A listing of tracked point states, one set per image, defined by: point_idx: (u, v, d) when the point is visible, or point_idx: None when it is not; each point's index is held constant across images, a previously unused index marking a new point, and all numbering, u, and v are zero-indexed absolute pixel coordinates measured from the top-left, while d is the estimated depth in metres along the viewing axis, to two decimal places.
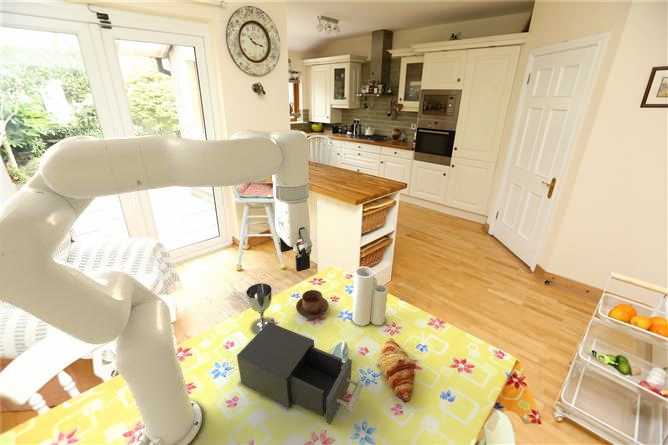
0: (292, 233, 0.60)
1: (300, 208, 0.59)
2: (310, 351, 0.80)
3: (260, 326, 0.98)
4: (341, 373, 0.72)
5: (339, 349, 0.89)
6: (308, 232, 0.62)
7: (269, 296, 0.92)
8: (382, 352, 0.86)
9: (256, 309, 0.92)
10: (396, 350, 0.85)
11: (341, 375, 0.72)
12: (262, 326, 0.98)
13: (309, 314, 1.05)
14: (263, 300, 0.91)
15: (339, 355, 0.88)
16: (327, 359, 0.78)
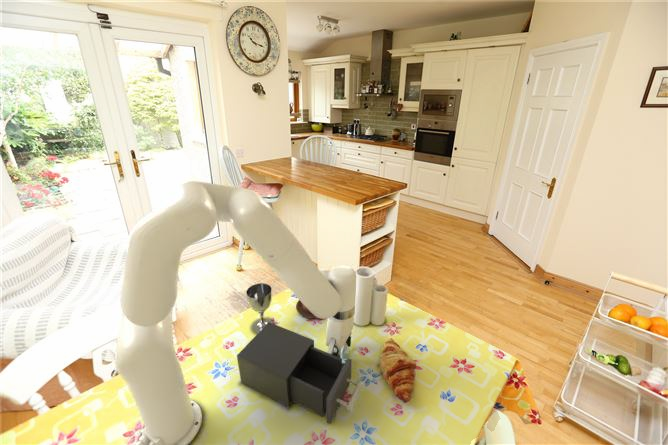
0: (326, 338, 0.80)
1: (334, 325, 0.78)
2: (310, 351, 0.80)
3: (260, 326, 0.98)
4: (341, 373, 0.72)
5: None
6: (338, 344, 0.79)
7: (269, 296, 0.92)
8: (382, 352, 0.86)
9: (256, 309, 0.92)
10: (396, 350, 0.85)
11: (341, 375, 0.72)
12: (262, 326, 0.98)
13: (309, 314, 1.05)
14: (263, 300, 0.91)
15: None
16: (327, 359, 0.78)
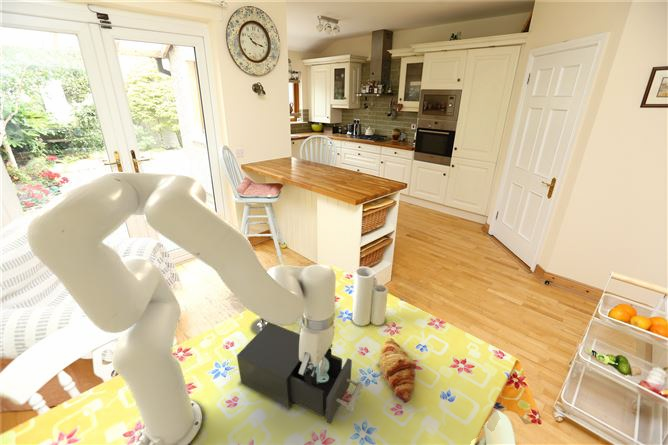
0: (299, 352, 0.66)
1: (308, 337, 0.64)
2: None
3: (260, 326, 0.98)
4: (341, 373, 0.72)
5: None
6: (313, 359, 0.65)
7: None
8: (382, 352, 0.86)
9: None
10: (396, 350, 0.85)
11: (341, 375, 0.72)
12: (262, 326, 0.98)
13: None
14: None
15: (317, 372, 0.73)
16: None
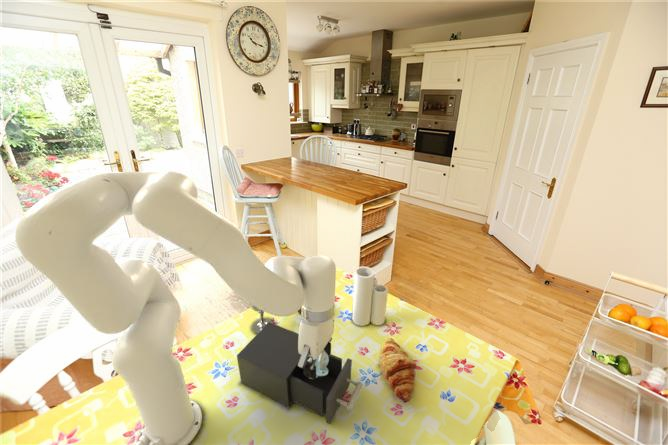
0: (299, 344, 0.65)
1: (307, 329, 0.63)
2: None
3: (260, 326, 0.98)
4: (341, 373, 0.72)
5: (317, 358, 0.74)
6: (313, 352, 0.64)
7: None
8: (382, 352, 0.86)
9: (256, 309, 0.92)
10: (396, 350, 0.85)
11: (341, 375, 0.72)
12: (262, 326, 0.98)
13: None
14: None
15: (316, 366, 0.73)
16: None
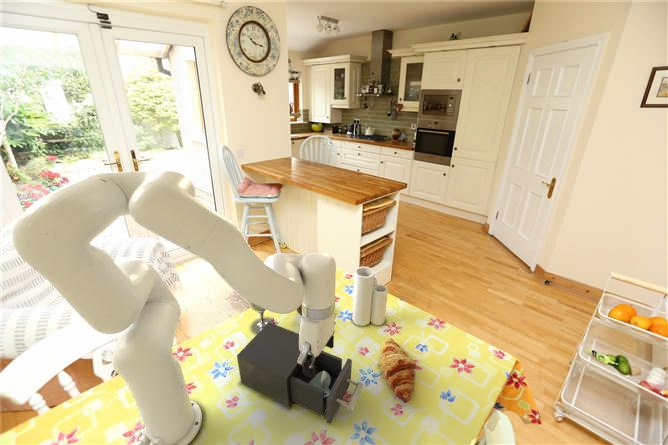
0: (299, 342, 0.65)
1: (308, 327, 0.62)
2: None
3: (260, 326, 0.98)
4: (341, 373, 0.72)
5: (319, 379, 0.78)
6: (313, 349, 0.64)
7: None
8: (382, 352, 0.86)
9: (256, 309, 0.92)
10: (396, 350, 0.85)
11: (341, 375, 0.72)
12: (262, 326, 0.98)
13: None
14: None
15: (318, 387, 0.76)
16: (327, 359, 0.78)
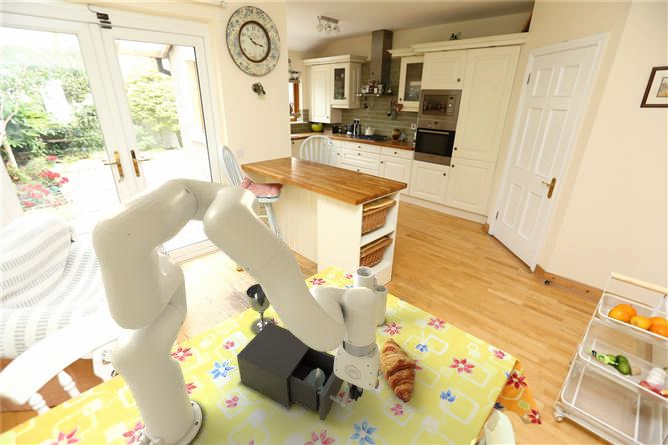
0: (375, 380, 0.63)
1: (377, 355, 0.63)
2: None
3: (260, 326, 0.98)
4: None
5: (313, 376, 0.78)
6: (379, 368, 0.66)
7: None
8: (382, 352, 0.86)
9: (256, 309, 0.92)
10: (396, 350, 0.85)
11: None
12: (262, 326, 0.98)
13: None
14: (263, 300, 0.91)
15: (313, 384, 0.77)
16: (321, 357, 0.79)
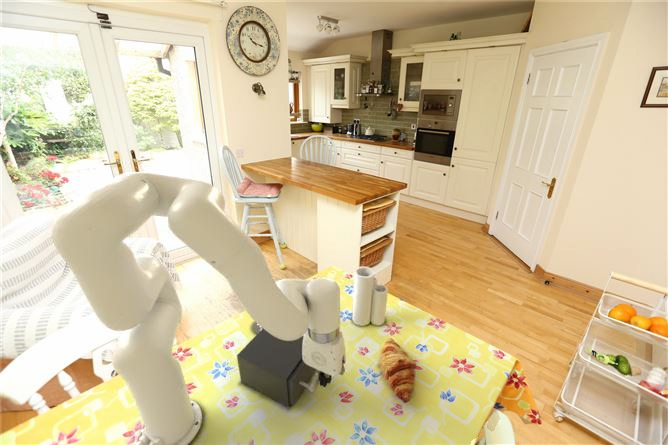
0: (339, 366, 0.67)
1: (341, 343, 0.66)
2: None
3: (260, 326, 0.98)
4: None
5: None
6: (345, 356, 0.70)
7: None
8: (382, 352, 0.86)
9: None
10: (396, 350, 0.85)
11: None
12: None
13: None
14: None
15: None
16: None
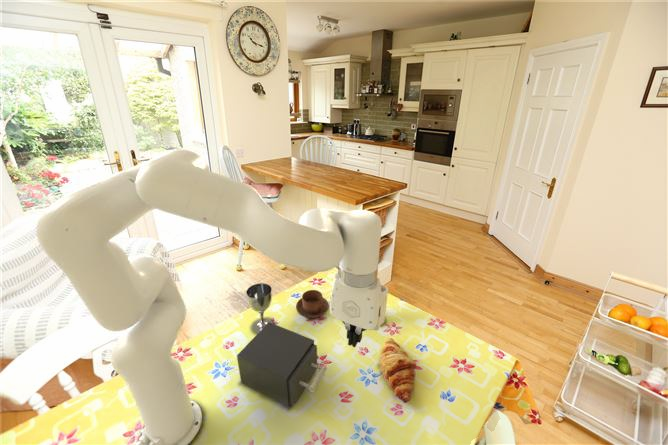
0: (376, 317, 0.56)
1: (379, 289, 0.56)
2: None
3: (260, 326, 0.98)
4: (305, 357, 0.76)
5: None
6: None
7: (269, 296, 0.92)
8: (382, 352, 0.86)
9: (256, 309, 0.92)
10: (396, 350, 0.85)
11: (305, 359, 0.76)
12: (262, 326, 0.98)
13: (309, 314, 1.05)
14: (263, 300, 0.91)
15: None
16: None
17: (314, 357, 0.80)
